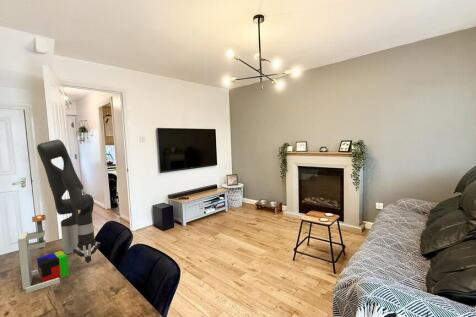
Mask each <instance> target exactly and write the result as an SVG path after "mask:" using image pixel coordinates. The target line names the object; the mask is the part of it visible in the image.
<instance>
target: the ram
mask: <svg viewBox="0 0 476 317" xmlns="http://www.w3.org/2000/svg"><path fill="white" fill-rule="evenodd" d="M46 218H47V217H46V214H38V215H34V216H32V217H31V222H32V223H36V228H37V230H36V232H38V233H42V232H43V230H44V229H43V221H46V220H47V219H46ZM44 237H45V236H44ZM44 237H40V238H37V239H38V240H37V241H38V242H39V243H43V242H44V240H45V239H44ZM44 248H45V247H41V248H38V249H39V250H41V249H44Z"/></svg>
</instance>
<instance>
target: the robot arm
mask: <svg viewBox="0 0 476 317" xmlns="http://www.w3.org/2000/svg"><path fill="white" fill-rule="evenodd" d="M36 150H37V153H38V156H39V158H40V160H41V163H42V165H43V167H44V170H45V173H46V177H47V181H48V184H49V187H50V190H51V193H52V196H53V201H54V205H55V211H56V213H57V214H58V215H61V216H62V215H67V214H71V215H70V216H68V217H66V218H64V219H62V220H61V221H60V231H61V239H62V240H61V241H62V252H63V253H64V254H66V255H69V254H74V253H75V254H76V255H78V256H79V257H80V258H84V262H85V263H86V264H89V263H91V262H92V255H94V254H95V253H96V252H97V251H98V249H99V248H100V246H101V242H100V241H96V239H95V228H94V227H95V226H94V222H93V212H94V207H95V206H94V205H95V201H94V198H93V196H92V195H91V194H89V193H85V194H83V193H82V190H84V185H83V184H82V182H81V179H80V178H79V176H78V175H77V172H76V170H75V167H74V165H73V162H72V159H71V157H70V154H69V151H68V149H67V147H66V145H65V144H64V142H63V141H62V140H61V139H53V140H49V141H48V140H47V141H45V142H42V143H38V145H37V146H36ZM57 158H62V162H63V167H62V168H63V169H61V168H60V167H58V166H56V165H55V164H54V163H53V162H52V160H53V159H54V160H55V159H57ZM66 192H68V196H69V198H63V196H64V195H65V193H66ZM81 251H82V252H81Z"/></svg>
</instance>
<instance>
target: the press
mask: <svg viewBox="0 0 476 317" xmlns="http://www.w3.org/2000/svg"><path fill="white" fill-rule="evenodd" d="M45 234H46V231H45V229H43V232H42V233H38V232H37V231H34V232H33V231H32V232H29V231H26V232H25V231H24V232H21V233H20V235H19V236H18V239H17V245H18V254H19V255H18V256H19V264H20V265H19V267H20V274H21V276H20V277H21V284H22V285H21V286H22V291H23V290H24V291H25V294H29V293H31V292H34V291H37V290H41V289H44V288H47V287H50V286H53V285H57V284H60V283H61V280H60V278H56V279H53V280H50V281H46V282H39V283H37V284H34V285H32V282H33V276H36V275H39V274H38V269H34V270H32V259H31V250H32V251H33V250H36V249H39V248H41V247H44V248H45V247H46V244H47V243H46V239H44V242H43V243H39V242H38V240H37V241H33V242H30V240H35V239H38V238H40V237H45Z"/></svg>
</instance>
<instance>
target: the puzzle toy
mask: <svg viewBox="0 0 476 317" xmlns="http://www.w3.org/2000/svg"><path fill="white" fill-rule="evenodd" d="M67 255H68V254H64V253H63V250H59V251H56V252H53V253H52V252H51V253H49V254H46V255H43V256H39V257H37V258H36V260H37V270H38V274H37V275H38V278H39V280H40V281H41V283H43V282H46V281H50V280H53V279H56V278H59V279H60V278H61V279H62V278H63V277H66V276H68V275H69V272H70V271H69V264H68V263H69V262H68V256H67Z"/></svg>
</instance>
